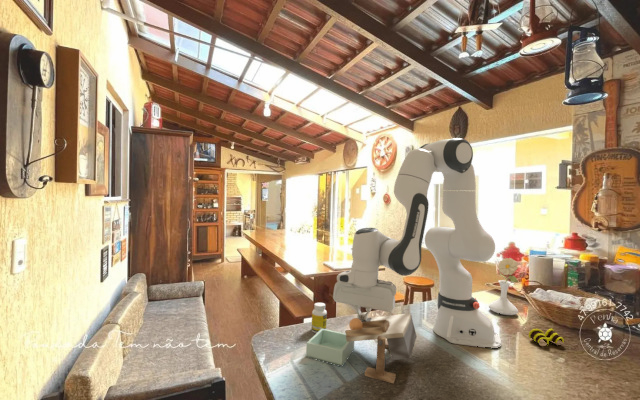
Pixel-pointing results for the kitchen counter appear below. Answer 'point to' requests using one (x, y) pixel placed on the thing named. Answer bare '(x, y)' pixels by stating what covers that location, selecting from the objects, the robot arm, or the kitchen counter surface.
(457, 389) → the kitchen counter surface
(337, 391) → the kitchen counter surface
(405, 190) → the robot arm
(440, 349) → the kitchen counter surface
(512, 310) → the flower in vase
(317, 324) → the supplement bottle
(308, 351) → the green square tray
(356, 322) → the ball
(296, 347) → the kitchen counter surface
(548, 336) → the yellow black striped piece
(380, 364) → the lever stand
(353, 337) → the lever
